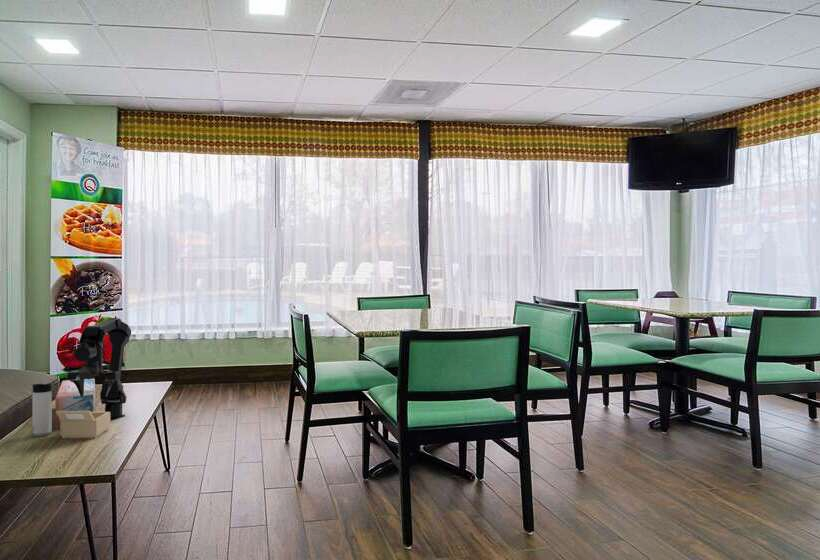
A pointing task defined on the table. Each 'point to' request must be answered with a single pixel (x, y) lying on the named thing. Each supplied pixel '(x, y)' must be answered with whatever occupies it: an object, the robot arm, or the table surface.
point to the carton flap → (75, 415)
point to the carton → (86, 426)
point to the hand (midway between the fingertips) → (93, 396)
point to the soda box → (75, 398)
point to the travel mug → (42, 410)
